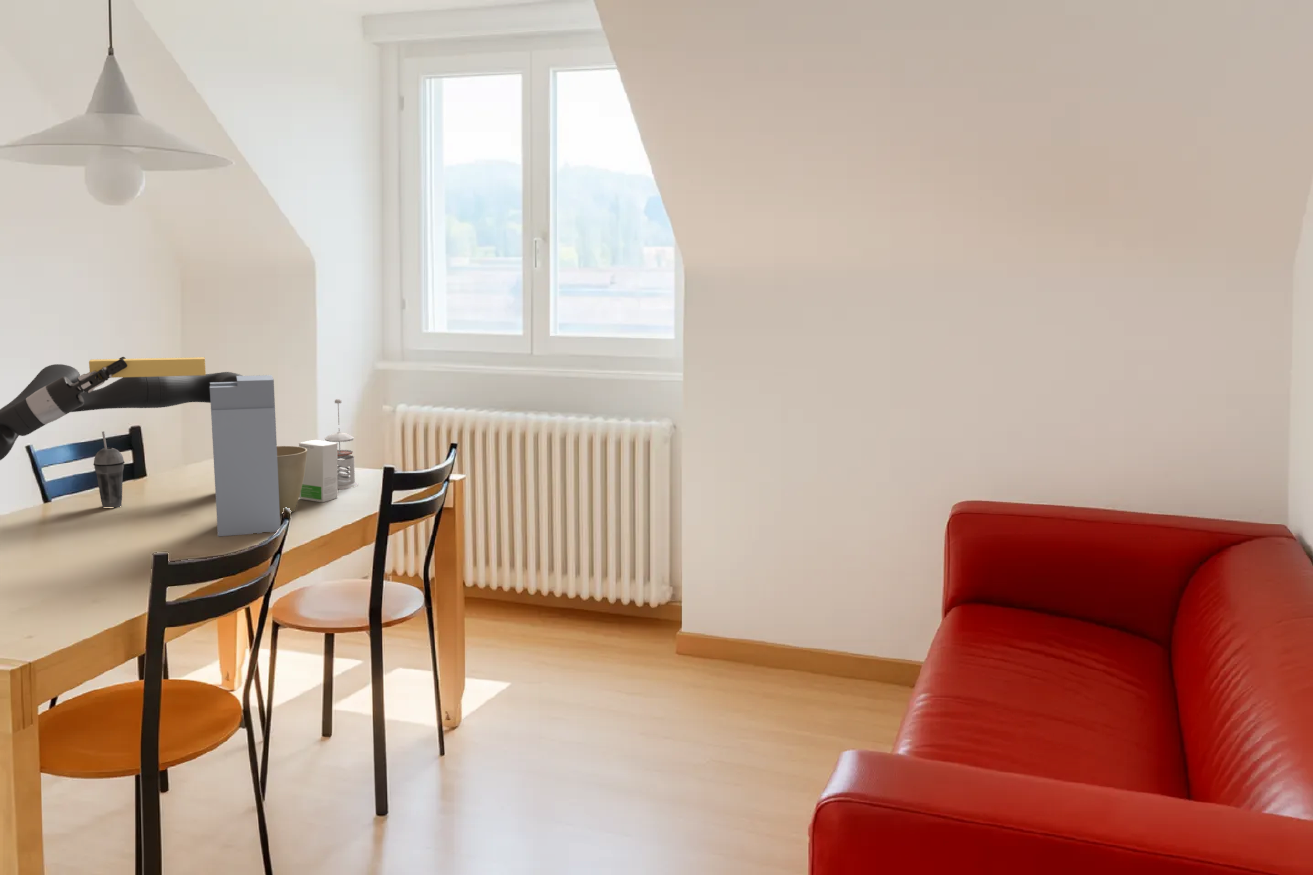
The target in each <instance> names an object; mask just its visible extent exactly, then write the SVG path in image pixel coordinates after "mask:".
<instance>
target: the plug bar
mask: <svg viewBox="0 0 1313 875" xmlns="http://www.w3.org/2000/svg"><path fill="white" fill-rule="evenodd" d="M118 360H119V358H110V359H109V358H108V359H107V358H103V359H101V358H99V359H98V358H97V359H92V358H91V359H90V360H89V361H88V366H89V367H88V368H89V372H92V371H94V370H96V371H99V370H100V369H102V368H103V367H107V366H109V365H110V364H112V363H114V362H116V361H118ZM124 361H125V362H126V364H127V367H126V368H124V369H123V370H121V371H119V372H117V373H116V374H114V375H113V374H112V375H113V376H111V378H110V379H112V378H113V379H114V378H115V379H116V378H123V377H156V376H196V375H206V374H207V372H206V358H205V356H204V357H203V356H202V357H201V356H200V357H194V356H193V357H159V358H158V357H156V358H155V357H154V358H153V357H151V358H150V357H149V358H147V357H146V358H144V357H143V358H126V359H124ZM99 375H100V374H99ZM90 376H91V375H90ZM95 378H96V377H95ZM101 378H102V377H101Z"/></svg>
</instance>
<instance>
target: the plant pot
mask: <svg viewBox="0 0 1313 875" xmlns="http://www.w3.org/2000/svg"><path fill="white" fill-rule="evenodd" d="M306 457H307V449H306V448H304V447H299V445H298V446H295V445H277V463H278V486H279V509H280V515H283V514H282V512H283V508H285V507H287V508H290V510H291V511H292V512H291V513H294V512H295V511H296V508H297V505H298V502H299V500H300V498H299V496H300V492H301V488H302V484H303V479H304V473H305V467H306Z"/></svg>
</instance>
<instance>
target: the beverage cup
mask: <svg viewBox="0 0 1313 875" xmlns="http://www.w3.org/2000/svg"><path fill="white" fill-rule="evenodd" d="M101 434H102V439H103V446H104V447H102V449H99V451H97V453H96V454H95V456H94V459H93V466H94V468H93V469H94V471H95V473H96V478H97V484H98V491H99V497H100V502H101V506H102V508H103V507H119V508H121V507H122V506H123V505H122V504H123V503H122V502H123V483H124V482H123V481H124V480H123V477H124V476H123V474H124V469H125V459H124V457H123V456H124V455H123V454H122V453H121V452H120V450H118V449H116V448H113V447H107V440H106V435H105V434H106V433H105V431H101ZM120 506H121V507H120Z"/></svg>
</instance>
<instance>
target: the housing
mask: <svg viewBox="0 0 1313 875" xmlns="http://www.w3.org/2000/svg"><path fill="white" fill-rule="evenodd" d="M275 398H276V397H275V380H274V378H273V375H272V374H268V375H267V374H265V375H264V374H263V375H260V374H259V375H243V376H237V382H213V383H210V401H211V403H210V413H211V414H210V417H211V432H212V434H211V435H212V436H211V437H212V452H213V453H212V454H213V468H214V470H213V473H214V474H213V476H214V491H215V509H216V510H215V511H216V524H217V526H216V528H217V529H216V530H217V537H227V536H228V537H229V536H240V535H241V536H242V535H254V534H253V533H257V534H263V533H262V532H270V533H277V532H276V531H277V530H278V529H279V528H280V529H281V514H280V509H279V486H278V463H277V446H278V445H277V425H276V424H277V423H276V422H277V421H276V420H277V418H276V403H275V402H276V400H275Z"/></svg>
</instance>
